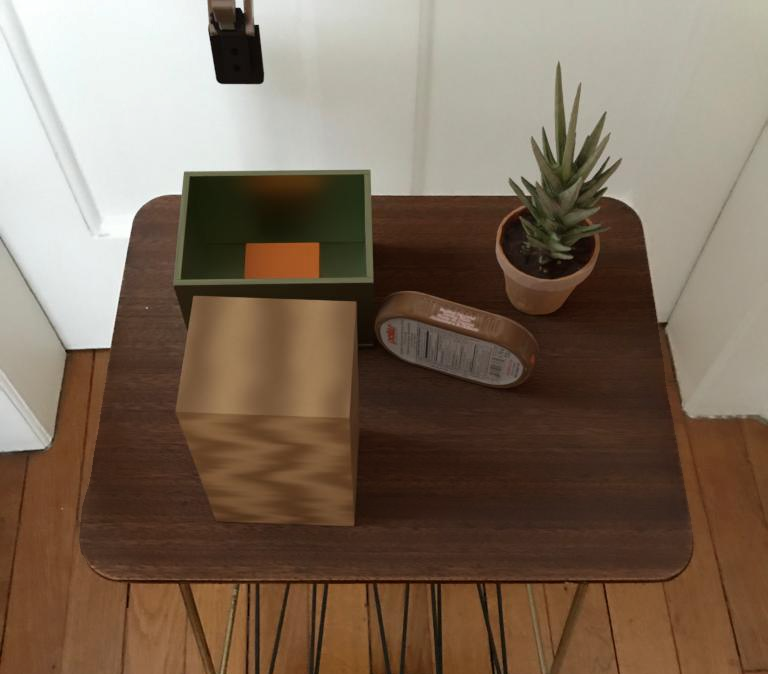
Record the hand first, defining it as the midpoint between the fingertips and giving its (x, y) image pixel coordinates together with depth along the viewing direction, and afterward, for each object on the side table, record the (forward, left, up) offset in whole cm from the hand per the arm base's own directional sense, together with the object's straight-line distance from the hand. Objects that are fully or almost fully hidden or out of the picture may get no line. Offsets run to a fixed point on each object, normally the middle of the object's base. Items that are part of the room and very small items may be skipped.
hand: (243, 33), depth 63 cm
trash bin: (0, 0, -29) cm, 29 cm away
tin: (+11, -15, -29) cm, 34 cm away
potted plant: (+23, -10, -29) cm, 38 cm away
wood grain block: (-7, -18, -29) cm, 35 cm away
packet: (+1, 0, -28) cm, 28 cm away
